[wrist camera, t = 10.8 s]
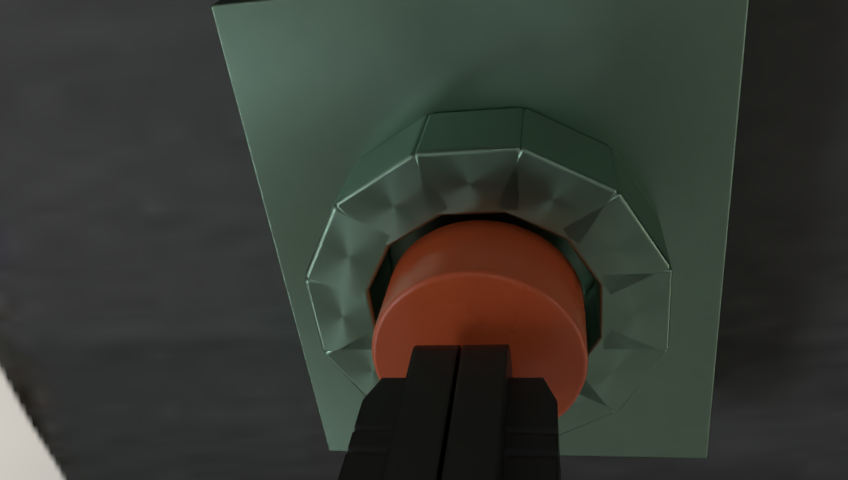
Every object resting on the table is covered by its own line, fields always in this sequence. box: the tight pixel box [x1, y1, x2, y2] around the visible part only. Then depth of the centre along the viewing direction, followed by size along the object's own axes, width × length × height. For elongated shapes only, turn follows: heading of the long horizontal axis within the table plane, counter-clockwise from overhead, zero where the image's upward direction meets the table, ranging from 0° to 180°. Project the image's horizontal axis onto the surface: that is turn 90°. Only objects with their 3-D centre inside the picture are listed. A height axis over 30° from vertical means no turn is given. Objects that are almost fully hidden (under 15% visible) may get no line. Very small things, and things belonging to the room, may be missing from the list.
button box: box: [212, 0, 749, 458], centre depth 15 cm, size 11×9×4 cm
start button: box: [372, 220, 588, 418], centre depth 13 cm, size 4×4×2 cm
